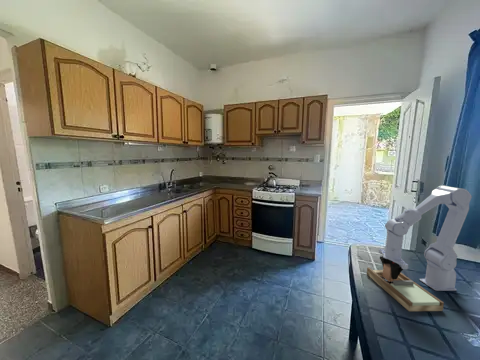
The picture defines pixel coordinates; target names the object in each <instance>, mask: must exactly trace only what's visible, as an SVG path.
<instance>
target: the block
mask: <svg viewBox="0 0 480 360" xmlns="http://www.w3.org/2000/svg"><path fill="white" fill-rule="evenodd" d="M382 270H383V274H382V276H381V277H382V278H383V279H384V280H385V281H386V280H387V282H388V283H389V282H393V280H398V278H397V279H392V278H391V267H390V264H384V266H383V265H382Z"/></svg>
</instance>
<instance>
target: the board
mask: <svg viewBox="0 0 480 360" xmlns="http://www.w3.org/2000/svg"><path fill="white" fill-rule="evenodd" d="M382 274H383V269H372V268H370V267H369V266H368V267H367V268H366V275H367V276H368V277H370V278H371V279H372V280H373V281H374V282H375V283H376V284H377V285H378V286H379V287H381V288H382V289H383V290H384V291H385V292H386V293H388V295H390V296H391V297H392V298H393V299H394V300H395V301H396V302H398V303H399V304H400V305H402V307H403V308H405V309H406V311H408V312H443V311H444V303H445V302H444V301H442V300H441V299H440V298H438V297H436V295H434V294H432V292H429V291H428V290H427V289H425V288H423V286H421V285H420V284H418V283H417V282H415V281H413V280H412V279H411V278H410V277H408V276H406V275H405V274H404V273H402V271H401V272H400V274H399V276H398V280H412V281H413V282H414V284H415V285H416V286H418V287H419V288H420V289H422V290H423V291H425V292H426V293H427V294H429V295H430V296H432V297H433V298H435V299H436V300H437V301H439V302H440V305H424V306H412V304H413V303H412V302H411V301H410V300H408V299H407V298H406V297H405V296H403V295H402V294H401V293H400V292H399V291H397V290H396V289H395V288H394V287H393V286H391V285H390V284H391V283H389V281H386V279H385V278H384V277H383V276H382Z"/></svg>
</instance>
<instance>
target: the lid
mask: <svg viewBox="0 0 480 360" xmlns="http://www.w3.org/2000/svg"><path fill="white" fill-rule="evenodd" d="M414 282H415V281H414ZM414 282H413V279H411V280H393V281H392V283H389V284H390V285H391V286H393V287H394V288H395V289H396V290H397V291H399V292H400V293H401V294H402V295H403V296H405V297H406V298H407V299H408V300H410V301H411V302H412V303H413V304H412V306H424V305H440V302H439V301H437V300H436V299H435V298H433V297H432V296H430V295H429V294H427V293H426V292H425V291H423V290H422V289H420V288H419V287H418V286H416V285H415V284H414Z"/></svg>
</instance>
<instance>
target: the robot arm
mask: <svg viewBox="0 0 480 360" xmlns="http://www.w3.org/2000/svg"><path fill="white" fill-rule="evenodd" d="M472 197H473V196H472V195H471V193H470V192H469V190H468V189H466V188H459V187H456V186H455V187H453V186H448V185H443V184H441V185H439V186H437V187H436V188H434V189H433V190H432V191H431V193H430V195H429V196H427V197H426V198H425V199H424V200H423V201H421V202H420V203H419V204H418V205H417V206H415V207H414V208H406V209H405V210H403V212H402V213H400V214H399V215H398V216H395V218H393V219H392V218H391V219H389V220H388V221H387V222H386V223H385V224H384V228H385V229H386V241H385V249H384V248H378V254H380V255H381V256H379V260H380V262H381V265H382V267H383V266H384V264H390V267H391V278H392V279H397V278H398V276H399V274H400V272H401V273H402V272H403V270H409V264H408V263H406V262H405V261H404V259H402V258H401V257H402V250H403V242H404V235H407V234H408V232H409V229H410V228H411V227H412V226H413V225H415V224H416V223H417V222H419V221H420V220H422V215H423V214H425V213H426V212H428V211H430V210H432V209H433V208H435V207H437V206H438V205H445V206H446V207H447V208H448V211H447V213H446V216H445V218H444V222H443V223H442V226H441V229H440V231H439V234H438V236H437V238H436V241H435V242H433V243H429V244H428V245H429V246H428V247H427V248H426V249H425V250H424V252H423V255H424V258H425V259H426V262H427V264H426V271H425V277H424V278H419V281H420V282H422V283H424V284H425V285H426V286H428V287H430V288H431V289H432V290H434V291H436V292H437V291H438V292H439V291H440V292H442V291H444V292H445V291H446V292H447V291H448V292H449V291H451V292H452V291H457V288H455V286H456V280H457V272H456V270H455V268H456V266H457V263H458V262H457V258H458V254H457V253H456V251H455V250H454V247H455V244H456V242H457V239H458V237H459V235H460V233H461V230H462V227H463V226H464V223H465V220H466V218H467V215H468V213H469V211H470V202H471V199H472ZM393 262H394V263H393Z"/></svg>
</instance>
